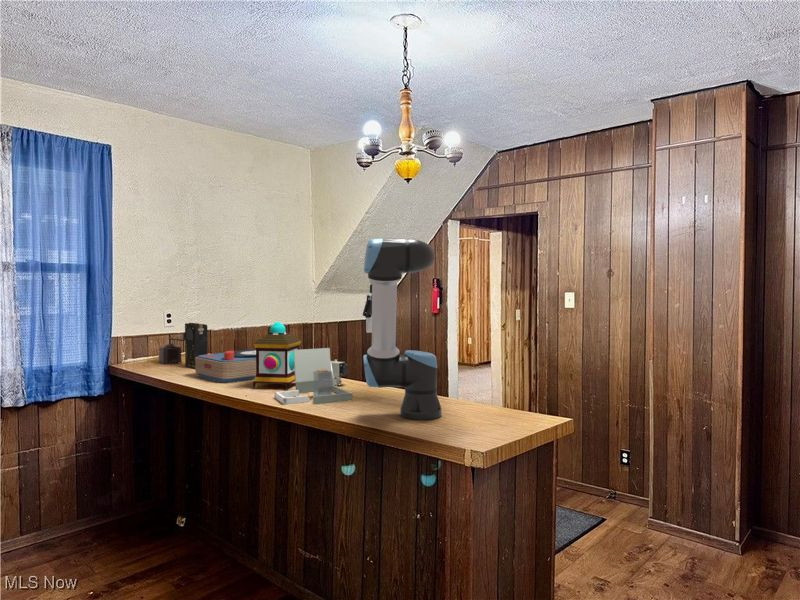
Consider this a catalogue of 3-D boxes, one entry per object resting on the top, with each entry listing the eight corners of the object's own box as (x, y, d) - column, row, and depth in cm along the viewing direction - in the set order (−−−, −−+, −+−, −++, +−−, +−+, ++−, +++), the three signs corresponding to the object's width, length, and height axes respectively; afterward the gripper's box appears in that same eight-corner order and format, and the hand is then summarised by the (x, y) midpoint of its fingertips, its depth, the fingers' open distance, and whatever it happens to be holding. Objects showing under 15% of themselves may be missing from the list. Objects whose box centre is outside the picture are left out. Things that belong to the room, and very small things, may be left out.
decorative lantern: (290, 390, 249) (290, 323, 248) (248, 389, 252) (248, 323, 251) (305, 383, 269) (305, 320, 268) (267, 381, 272) (266, 320, 271)
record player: (263, 366, 321) (263, 340, 321) (300, 374, 296) (300, 345, 296) (189, 376, 290) (189, 347, 289) (224, 385, 265) (224, 353, 264)
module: (331, 397, 235) (331, 370, 234) (317, 398, 232) (317, 371, 232) (327, 395, 240) (326, 368, 239) (313, 396, 237) (313, 369, 237)
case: (354, 400, 230) (354, 354, 229) (313, 404, 222) (313, 357, 221) (330, 388, 254) (330, 347, 253) (293, 392, 246) (293, 349, 245)
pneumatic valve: (342, 387, 258) (342, 361, 257) (322, 384, 264) (322, 359, 263) (349, 385, 263) (349, 359, 262) (329, 382, 269) (329, 358, 268)
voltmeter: (183, 366, 320) (182, 322, 320) (198, 364, 326) (197, 322, 326) (194, 369, 309) (194, 324, 308) (209, 367, 315) (209, 323, 314)
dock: (308, 402, 226) (308, 395, 226) (284, 404, 221) (284, 398, 221) (298, 395, 238) (298, 389, 238) (274, 398, 234) (274, 392, 233)
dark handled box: (164, 364, 327) (163, 334, 327) (158, 362, 336) (157, 332, 335) (190, 362, 337) (190, 332, 337) (184, 360, 346) (184, 331, 345)
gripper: (403, 283, 232) (403, 334, 232) (368, 284, 251) (368, 331, 251) (389, 283, 227) (389, 335, 227) (354, 284, 246) (354, 332, 247)
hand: (378, 333), depth 239 cm, fingers open, 13 cm apart
